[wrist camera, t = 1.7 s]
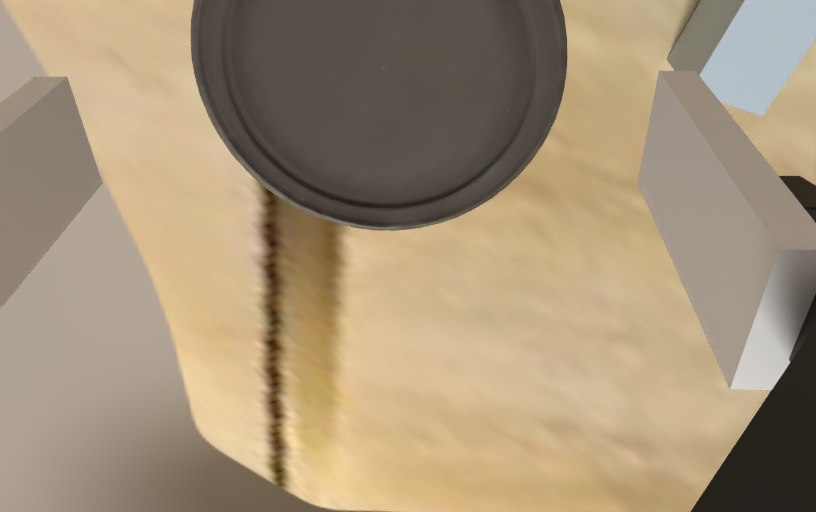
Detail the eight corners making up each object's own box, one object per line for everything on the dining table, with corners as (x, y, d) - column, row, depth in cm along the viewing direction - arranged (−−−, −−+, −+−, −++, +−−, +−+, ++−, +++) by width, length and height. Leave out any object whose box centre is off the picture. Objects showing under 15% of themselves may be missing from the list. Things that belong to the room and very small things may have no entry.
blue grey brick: (731, 81, 33) (762, 116, 30) (666, 58, 32) (689, 91, 29) (827, -69, 29) (875, -48, 26) (754, -99, 28) (793, -81, 25)
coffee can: (287, -195, 27) (167, -164, 16) (545, -165, 27) (613, -114, 16) (289, 59, 33) (204, 215, 22) (501, 82, 33) (527, 249, 22)
